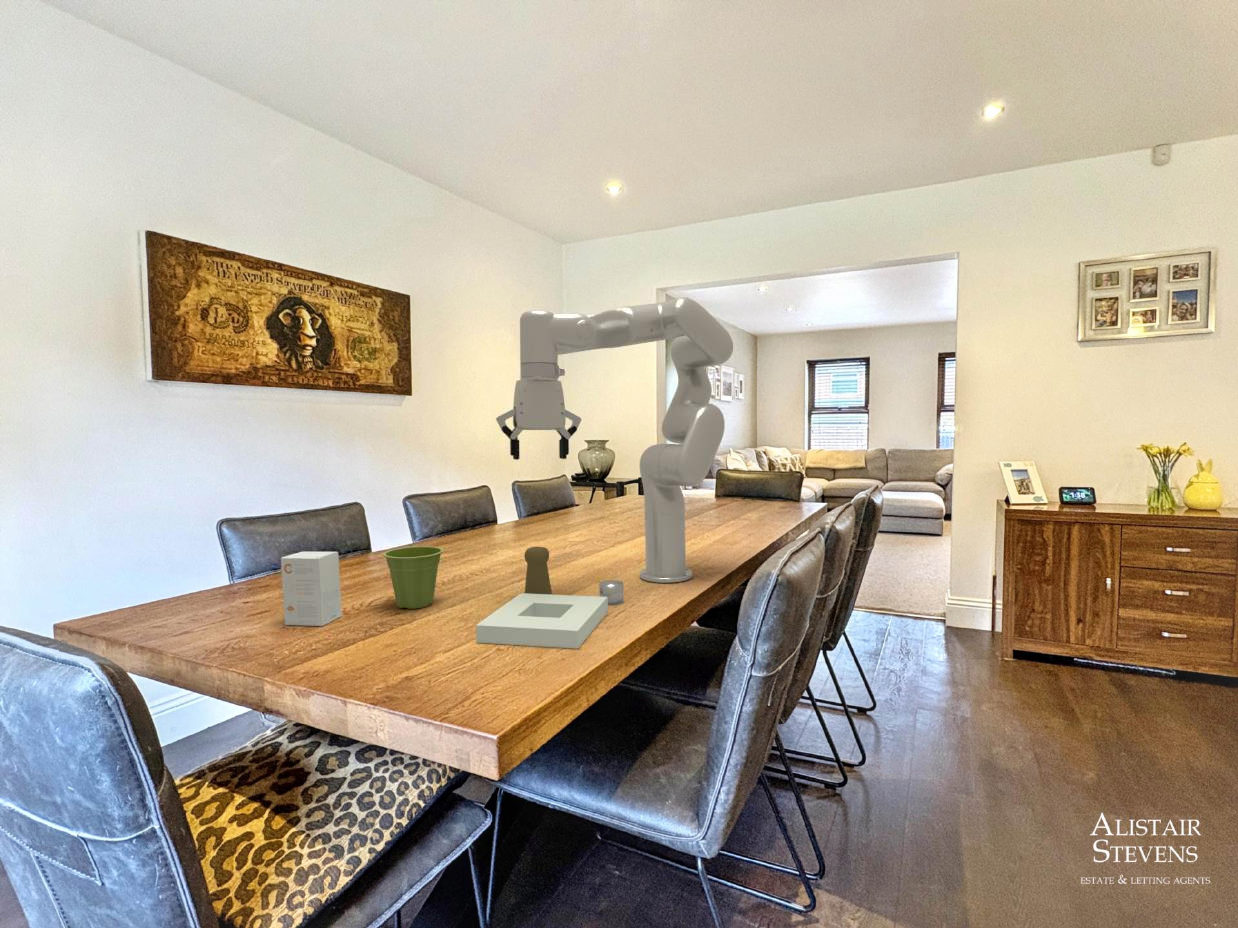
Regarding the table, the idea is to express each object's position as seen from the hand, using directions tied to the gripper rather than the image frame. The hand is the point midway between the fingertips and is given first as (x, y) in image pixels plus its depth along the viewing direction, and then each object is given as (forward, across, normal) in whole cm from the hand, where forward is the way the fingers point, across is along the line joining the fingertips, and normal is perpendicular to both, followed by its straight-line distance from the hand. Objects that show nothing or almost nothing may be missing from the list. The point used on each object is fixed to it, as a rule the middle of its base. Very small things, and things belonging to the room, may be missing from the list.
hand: (539, 459), depth 124 cm
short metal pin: (+30, -14, +4) cm, 33 cm away
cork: (+30, 0, -5) cm, 30 cm away
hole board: (+30, +2, +14) cm, 33 cm away
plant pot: (+31, +24, -11) cm, 40 cm away
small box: (+31, +43, -8) cm, 53 cm away
